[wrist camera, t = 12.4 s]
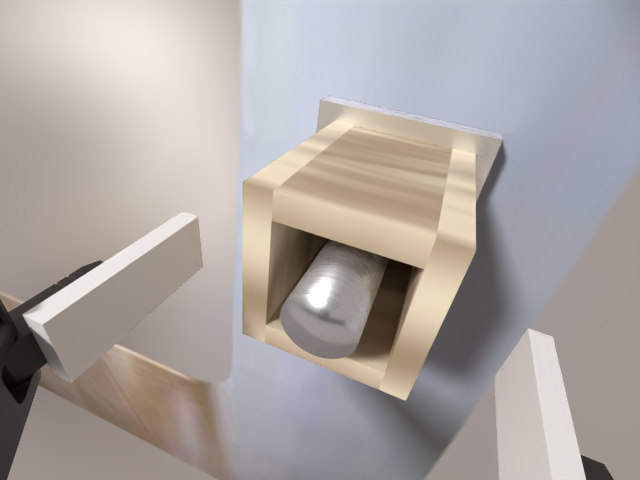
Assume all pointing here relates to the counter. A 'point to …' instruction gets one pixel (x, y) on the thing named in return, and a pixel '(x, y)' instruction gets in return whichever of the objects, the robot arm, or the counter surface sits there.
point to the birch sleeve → (362, 241)
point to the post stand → (356, 264)
